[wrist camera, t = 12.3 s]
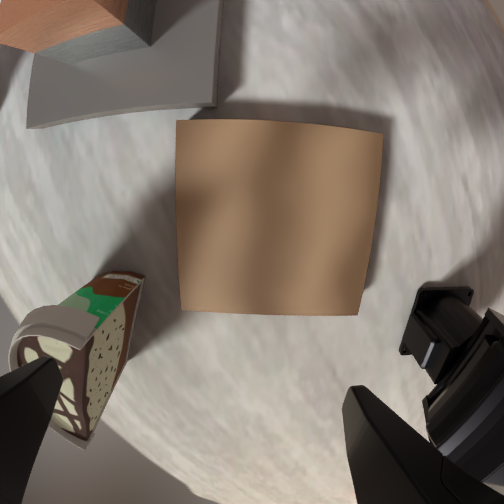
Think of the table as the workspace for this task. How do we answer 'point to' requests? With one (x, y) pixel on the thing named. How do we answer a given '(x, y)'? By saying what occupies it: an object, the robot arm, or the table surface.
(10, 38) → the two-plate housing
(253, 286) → the walnut stand
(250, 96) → the table surface
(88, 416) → the food container
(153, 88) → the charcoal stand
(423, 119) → the table surface
